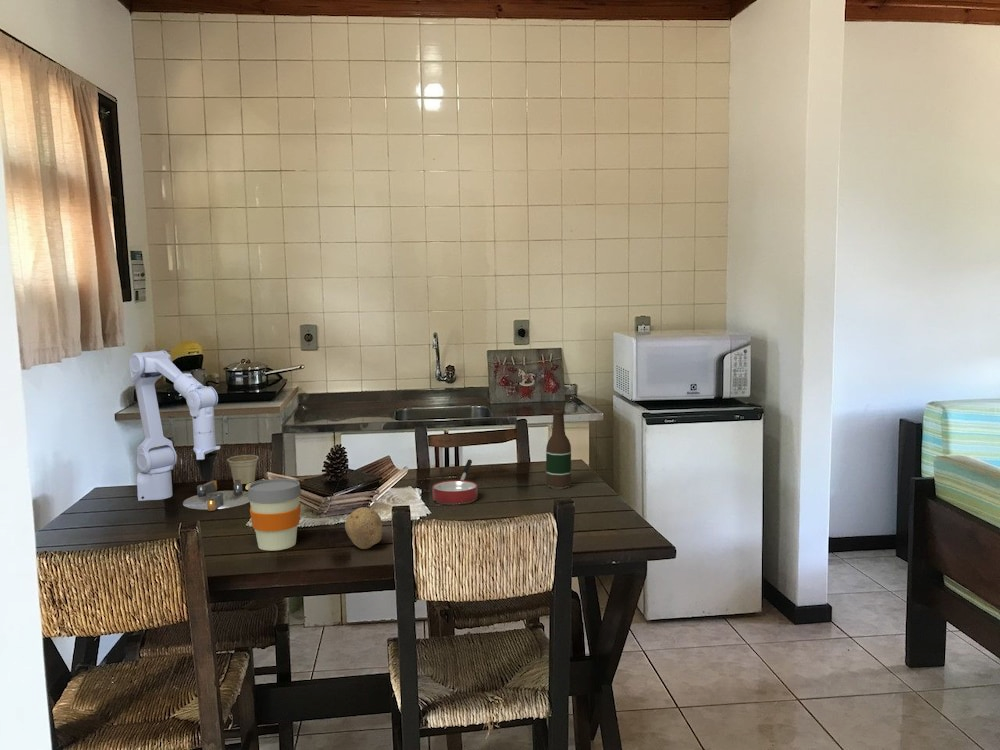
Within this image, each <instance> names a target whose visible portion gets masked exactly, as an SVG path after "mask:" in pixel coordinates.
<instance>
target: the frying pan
mask: <svg viewBox="0 0 1000 750" xmlns="http://www.w3.org/2000/svg"><path fill="white" fill-rule="evenodd" d="M472 463H473V460H472V459H467V461H466V463H465V465H464V469H463V470H462V475H461V477H460V479H449V480H442V481H438V482H436V483H434V484H433V485H432V486H431V487H432V501H433V500H434V501H437V502H442V503H461V502H469V501H472V500H474V499H476V498H477V497H478V483H476V482H475V481H471V480H465V479H466V476H467V475H468V474H469V471H470V469H471V466H472ZM477 499H478V498H477ZM434 501H433V502H434Z"/></svg>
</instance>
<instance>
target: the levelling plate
mask: <svg viewBox="0 0 1000 750" xmlns="http://www.w3.org/2000/svg"><path fill="white" fill-rule="evenodd" d="M219 492H222V493H223V500H224V504H222V505H220V506H219V507H218V508H216V509H215V510H222V509H229V508H233V507H239V506H242V505H246V504H248V503H249V504H250V500H249V499H248V491H246V490H242V492H243V494H242V495H234V490H219V491H218V490H217V491H214V492H212V493H210V494H208V495H206V496H204V497H198V494H197V495H193V496H190V497H188V498H186V499H184V501H182V505H183V506H184V507H185V508H188V509H192V510H193V509H195V510H208V506H207V500H209V499H210V498H212V497H213V496H214V494H215V493H219Z"/></svg>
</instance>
